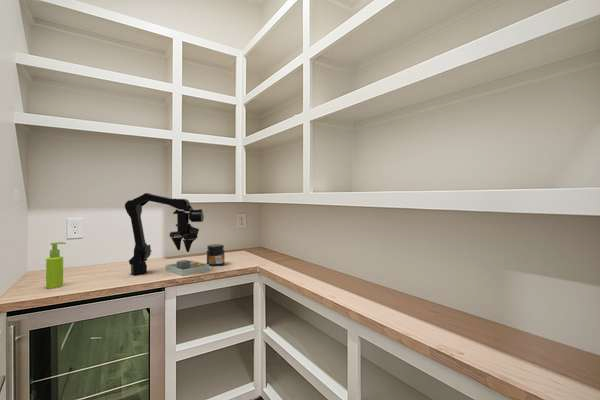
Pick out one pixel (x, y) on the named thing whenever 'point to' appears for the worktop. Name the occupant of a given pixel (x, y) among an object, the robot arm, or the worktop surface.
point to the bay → (197, 269)
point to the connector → (184, 264)
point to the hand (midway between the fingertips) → (183, 251)
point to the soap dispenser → (54, 267)
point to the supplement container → (215, 255)
